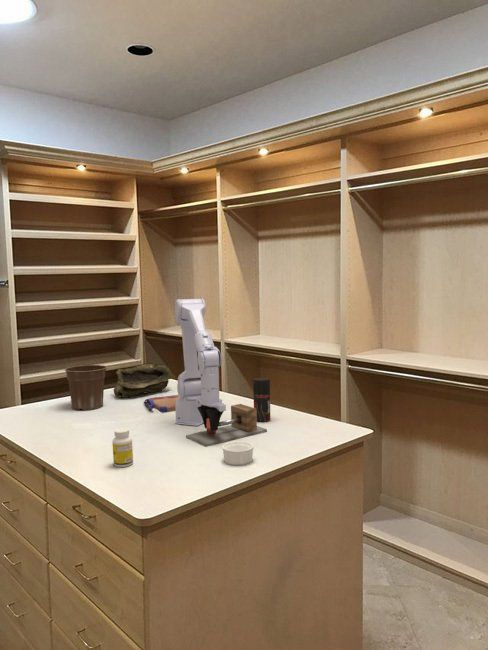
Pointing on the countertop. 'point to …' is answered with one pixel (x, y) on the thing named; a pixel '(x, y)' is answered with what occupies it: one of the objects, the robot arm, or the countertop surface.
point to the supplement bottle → (122, 448)
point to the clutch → (162, 403)
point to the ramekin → (238, 452)
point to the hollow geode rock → (142, 379)
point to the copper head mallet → (221, 424)
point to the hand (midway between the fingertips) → (211, 429)
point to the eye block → (231, 427)
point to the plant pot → (86, 386)
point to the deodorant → (262, 398)
